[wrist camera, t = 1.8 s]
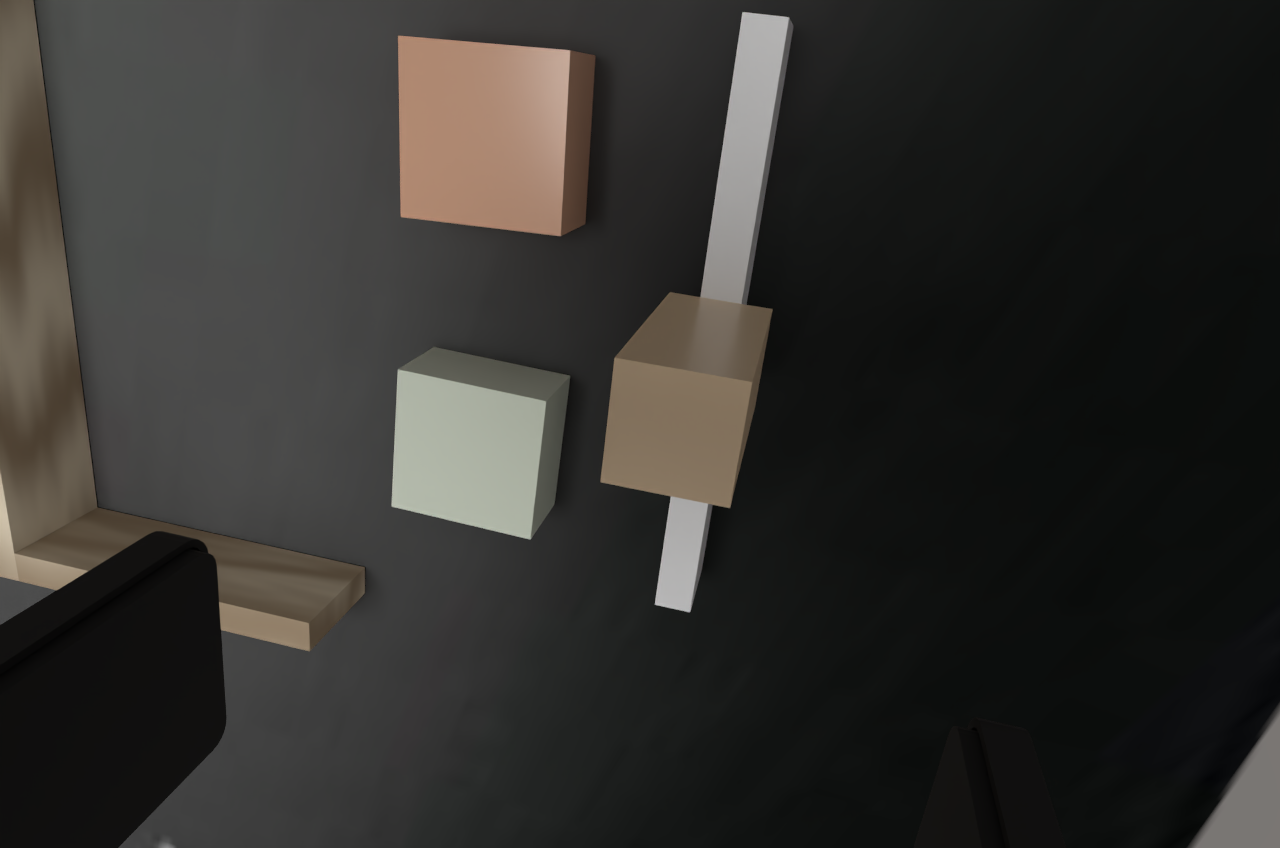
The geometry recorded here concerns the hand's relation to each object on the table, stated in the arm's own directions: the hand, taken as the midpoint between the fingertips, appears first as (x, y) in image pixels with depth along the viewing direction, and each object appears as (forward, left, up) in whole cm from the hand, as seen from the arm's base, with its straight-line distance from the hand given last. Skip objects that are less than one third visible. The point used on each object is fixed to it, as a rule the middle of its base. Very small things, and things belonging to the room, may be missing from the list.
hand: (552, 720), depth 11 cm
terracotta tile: (-5, -8, -19) cm, 21 cm away
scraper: (0, 0, -19) cm, 19 cm away
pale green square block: (+5, -8, -19) cm, 21 cm away
